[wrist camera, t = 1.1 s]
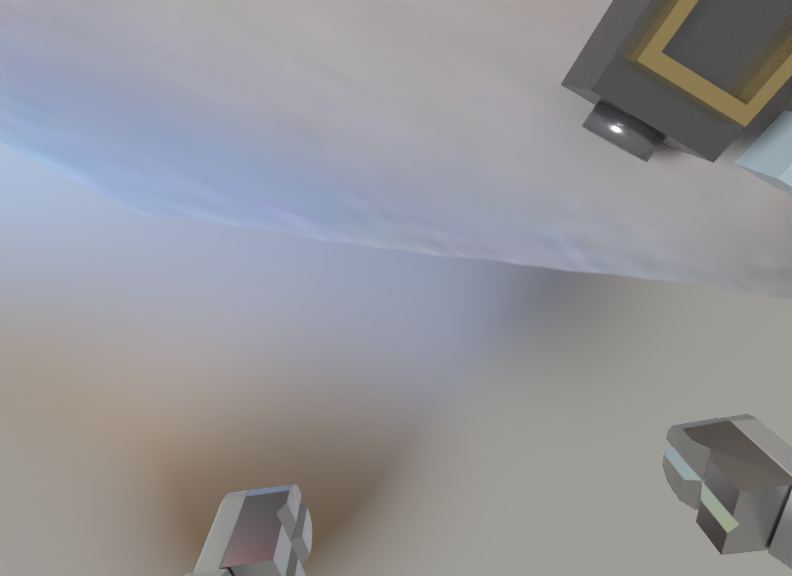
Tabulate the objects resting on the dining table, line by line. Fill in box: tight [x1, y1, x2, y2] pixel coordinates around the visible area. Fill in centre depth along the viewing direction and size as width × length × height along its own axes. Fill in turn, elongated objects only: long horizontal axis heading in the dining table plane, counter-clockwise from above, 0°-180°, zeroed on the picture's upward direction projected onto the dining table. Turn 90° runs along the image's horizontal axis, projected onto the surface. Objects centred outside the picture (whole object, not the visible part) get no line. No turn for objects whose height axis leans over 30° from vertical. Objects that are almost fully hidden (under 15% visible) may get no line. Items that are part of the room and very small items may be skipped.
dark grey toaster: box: [561, 0, 792, 163], centre depth 28 cm, size 16×11×10 cm
